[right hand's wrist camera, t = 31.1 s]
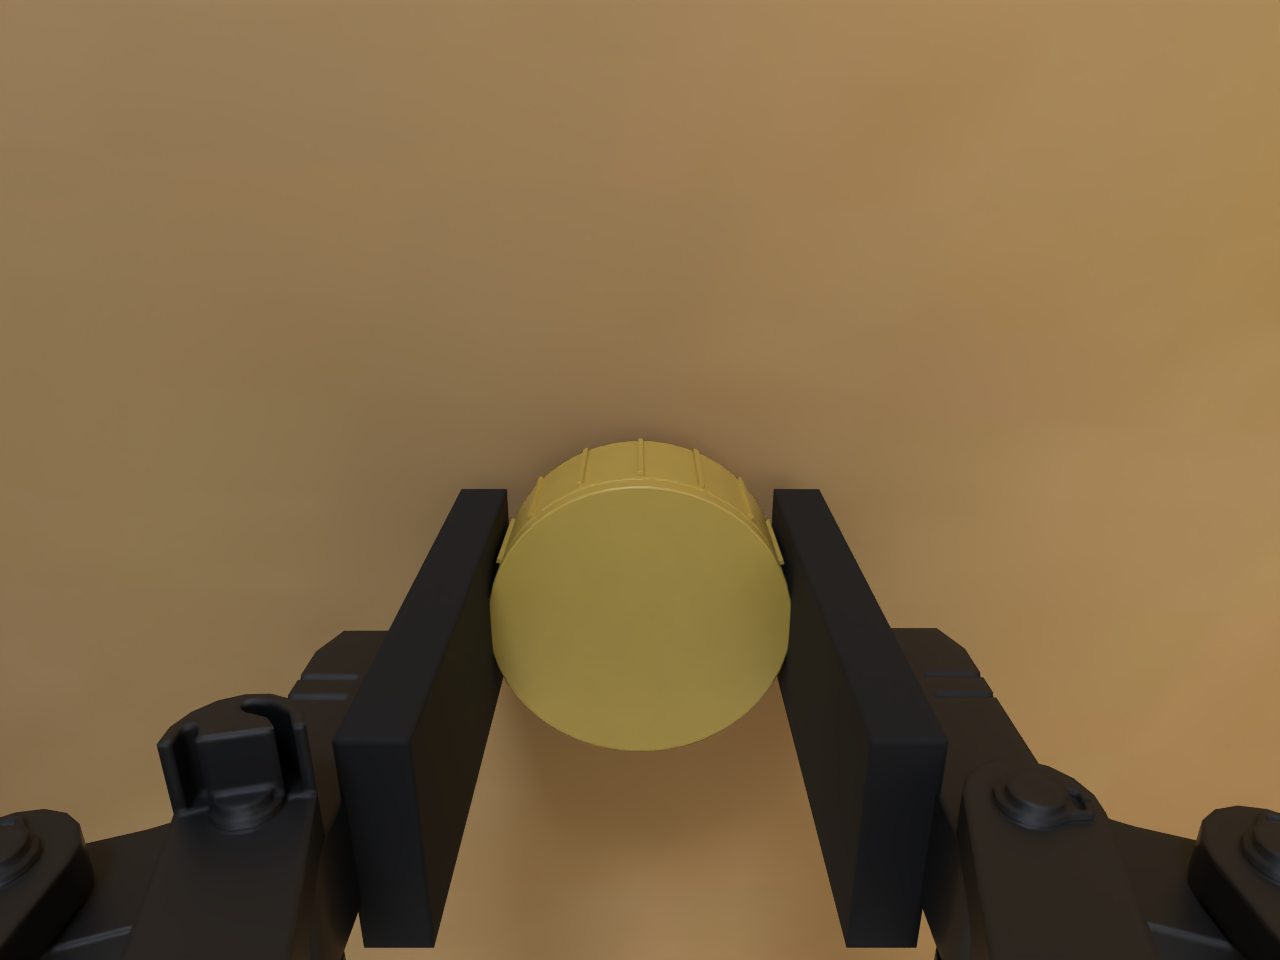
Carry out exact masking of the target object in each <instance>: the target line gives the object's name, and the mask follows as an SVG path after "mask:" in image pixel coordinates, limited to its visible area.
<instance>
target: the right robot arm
mask: <svg viewBox="0 0 1280 960" xmlns="http://www.w3.org/2000/svg"><path fill="white" fill-rule="evenodd" d="M508 526H509V519H508V503H507V489H461V491H460V493H459V495H458V497H457V499H456V501H455V503H454V505H453V507H452V509H451V511H450V513H449V515H448V517H447V519H446V520H445V522H444V524H443V526H442V528H441V530H440V532H439V534H438V536H437V538H436V540H435V542H434V544H433V546H432V548H431V550H430V551H429V553H428V555H427V557H426V559H425V561H424V563H423V565H422V567H421V569H420V571H419V573H418V575H417V577H416V579H415V581H414V582H413V584H412V586H411V588H410V590H409V592H408V594H407V596H406V598H405V600H404V602H403V604H402V606H401V608H400V610H399V612H398V613H397V615H396V617H395V619H394V621H393V623H392V625H391V627H390V629H389V631H343V632H342V633H341V634H339V635H338V636H337V637H335V638H334V639H333V640H331V641H330V642H328V643H327V644H326V645H324V646H323V647H322V648H320V649H319V650H317V651H316V652H315V654H314V656H313V657H312V659H311V660H310V662H309V663H308V665H307V667H306V668H305V670H304V671H303V673H302V674H301V680H298V681H297V682H296V684H295V685H294V687H293V689H292V690H291V692H290V693H289V695H288V698H285V697H281V696H277V695H273V694H245V695H241V696H236V697H232V698H227V699H223V700H218V701H216V702H213V703H211V704H209V705H206V706H204V707H202V708H199V709H197V710H195V711H192V712H191V713H189V714H188V715H186V716H185V717H184V718H182V719H181V720H179V721H178V722H177V723H175V724H174V725H172V726H171V727H170V728H169V729H168V730H167V732H166V733H165V734H164V736H163V737H162V738H161V740H160V741H159V742H158V744H157V748H158V752H159V756H160V760H161V764H162V768H163V772H164V776H165V781H166V785H167V789H168V793H169V797H170V801H171V805H172V809H173V813H174V816H173V818H172V821H171V823H168V824H165V825H161V826H158V827H155V828H151V829H148V830H144V831H140V832H135V833H131V834H126V835H122V836H117V837H113V838H109V839H104V840H100V841H95V842H91V843H86V844H85V841H84V837H83V834H82V831H81V827H80V824H79V823H78V822H77V821H75V820H74V819H73V818H72V817H71V816H70V815H68V814H67V813H64V812H58V811H52V810H47V809H41V810H33V811H24V812H16V813H13V814H9V815H6V816H3V817H0V960H346V958H345V952H344V949H345V947H346V944H347V941H348V938H349V936H350V933H351V930H352V928H353V925H354V922H355V919H356V917H357V914H358V911H359V918H360V924H361V931H362V937H363V943H364V948H434V946H435V942H436V938H437V934H438V930H439V926H440V922H441V918H442V914H443V910H444V907H445V903H446V899H447V895H448V891H449V887H450V883H451V879H452V875H453V871H454V867H455V864H456V860H457V856H458V852H459V848H460V844H461V840H462V836H463V832H464V828H465V825H466V821H467V817H468V813H469V809H470V805H471V801H472V797H473V793H474V789H475V785H476V782H477V778H478V774H479V770H480V766H481V762H482V758H483V754H484V750H485V746H486V743H487V739H488V735H489V731H490V727H491V723H492V719H493V715H494V711H495V707H496V703H497V700H498V696H499V692H500V688H501V684H502V680H503V674H502V673H501V671H500V669H499V667H498V664H497V662H496V659H495V656H494V654H493V645H492V632H491V618H490V594H491V590H492V586H493V582H494V579H495V576H496V573H497V570H498V567H499V563H496V561H497V558H498V555H499V552H500V549H501V546H502V543H503V540H504V538H505V535H506V532H507V529H508ZM772 528H773V531H774V534H775V537H776V540H777V543H778V546H779V549H780V552H781V554H782V557H783V560H784V563H785V564H783V565H781V567H782V570H783V573H784V576H785V579H786V582H787V585H788V590H789V594H790V599H791V612H790V627H789V640H788V650H787V654H786V657H785V659H784V662H783V664H782V667H781V669H780V671H779V673H778V675H777V678H778V682H779V686H780V690H781V693H782V697H783V701H784V705H785V709H786V713H787V717H788V721H789V725H790V729H791V733H792V736H793V740H794V744H795V748H796V752H797V756H798V760H799V764H800V768H801V772H802V775H803V779H804V783H805V787H806V791H807V795H808V799H809V803H810V807H811V811H812V815H813V818H814V822H815V826H816V830H817V834H818V838H819V842H820V846H821V850H822V854H823V857H824V861H825V865H826V869H827V873H828V877H829V881H830V885H831V889H832V893H833V897H834V900H835V904H836V908H837V912H838V916H839V920H840V924H841V928H842V932H843V936H844V940H845V943H846V947H847V948H916V947H917V940H918V934H919V928H920V921H921V915H922V909H923V911H924V914H925V916H926V919H927V922H928V924H929V927H930V930H931V933H932V935H933V938H934V941H935V943H936V952H935V958H934V960H1280V813H1277V812H1274V811H1271V810H1268V809H1262V808H1253V807H1245V806H1233V807H1227V808H1221V809H1215V810H1214V811H1213V812H1212V813H1210V814H1209V815H1208V816H1207V817H1206V818H1205V819H1203V820H1202V823H1201V826H1200V830H1199V833H1198V836H1197V840H1192V839H1188V838H1183V837H1179V836H1174V835H1170V834H1165V833H1161V832H1157V831H1152V830H1148V829H1143V828H1139V827H1135V826H1131V825H1128V824H1124V823H1121V822H1118V821H1114V820H1111V819H1109V818H1108V817H1107V814H1106V812H1105V811H1104V809H1103V808H1102V806H1101V805H1100V803H1099V802H1098V800H1097V799H1096V797H1095V796H1094V795H1093V794H1092V793H1091V792H1090V791H1089V790H1087V789H1086V788H1085V787H1084V786H1082V785H1081V784H1080V783H1079V782H1077V781H1076V780H1075V779H1074V778H1072V777H1070V776H1068V775H1065V774H1063V773H1061V772H1059V771H1057V770H1055V769H1053V768H1051V767H1049V766H1046V765H1042V764H1039V763H1038V762H1037V760H1036V759H1035V757H1034V756H1033V754H1032V753H1031V751H1030V749H1029V748H1028V746H1027V745H1026V743H1025V742H1024V740H1023V739H1022V737H1021V735H1020V734H1019V732H1018V731H1017V729H1016V728H1015V726H1014V724H1013V723H1012V721H1011V720H1010V718H1009V717H1008V715H1007V714H1006V712H1005V710H1004V709H1003V707H1002V706H1001V704H1000V703H999V701H998V700H997V698H993V692H992V690H991V689H990V687H989V686H988V684H987V682H986V681H985V679H984V678H983V677H980V672H979V670H978V668H977V667H976V665H975V664H974V662H973V661H972V659H971V658H970V656H969V654H968V653H967V651H966V650H965V649H964V648H963V647H962V646H960V645H959V644H958V643H956V642H955V641H953V640H952V639H951V638H949V637H948V636H947V635H945V634H944V633H942V632H941V631H940V630H938V629H937V628H890V626H889V624H888V622H887V620H886V618H885V616H884V614H883V612H882V610H881V608H880V606H879V605H878V603H877V601H876V599H875V597H874V595H873V593H872V591H871V589H870V587H869V585H868V583H867V581H866V579H865V577H864V575H863V574H862V572H861V570H860V568H859V566H858V564H857V562H856V560H855V558H854V556H853V554H852V552H851V550H850V548H849V546H848V544H847V543H846V541H845V539H844V537H843V535H842V533H841V531H840V529H839V527H838V525H837V523H836V521H835V519H834V517H833V515H832V513H831V512H830V510H829V508H828V506H827V504H826V502H825V500H824V498H823V496H822V494H821V492H820V490H819V489H774V496H773V512H772Z"/></svg>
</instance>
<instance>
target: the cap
mask: <svg viewBox="0 0 1280 960" xmlns="http://www.w3.org/2000/svg"><path fill="white" fill-rule="evenodd" d="M496 563H499V567H498V570H497V573H496V576H495V579H494V582H493V586H492V590H491V594H490V618H491V632H492V645H493V654H494V656H495V659H496V662H497V664H498V667H499V669H500V671H501V673H502V674H503V676H504V678H505V680H506V682H507V684H508V685H509V686H510V688H511V689H512V690H513V692H514V693H515V694H516V696H517V697H518V698H519V699H520V700H521V701H522V702H523V703H524V704H525V705H526V707H527V708H528V709H529V710H530V711H532V712H533V713H534V714H535V715H537V716H538V717H539V718H540V719H542V720H543V721H544V722H546V723H547V724H549V725H550V726H552V727H554V728H555V729H557V730H558V731H560V732H562V733H564V734H566V735H569V736H571V737H573V738H575V739H577V740H580V741H583V742H586V743H589V744H592V745H596V746H600V747H605V748H609V749H616V750H625V751H655V750H665V749H671V748H676V747H680V746H685V745H688V744H691V743H694V742H697V741H700V740H703V739H705V738H707V737H710V736H712V735H714V734H716V733H718V732H720V731H722V730H723V729H725V728H727V727H728V726H730V725H732V724H733V723H735V722H736V721H737V720H739V719H740V718H741V717H742V716H744V715H745V714H746V713H747V712H749V711H750V710H751V709H752V708H753V707H754V706H755V705H756V704H757V703H758V702H759V701H760V700H761V698H762V697H763V696H764V695H765V693H766V692H767V691H768V689H769V688H770V687H771V685H772V684H773V682H774V680H775V678H776V677H777V675H778V673H779V671H780V669H781V667H782V664H783V662H784V659H785V657H786V654H787V650H788V640H789V627H790V612H791V599H790V594H789V590H788V585H787V582H786V579H785V576H784V573H783V570H782V567H781V565H783V564H785V563H784V560H783V557H782V554H781V552H780V549H779V546H778V543H777V540H776V537H775V534H774V531H773V528H772V525H771V522H770V520H769V519H768V520H765V518H764V515H763V513H762V511H761V509H760V508H759V506H758V504H757V502H756V501H755V499H754V498H753V496H752V495H751V494H750V492H749V491H748V490H747V489H746V487H745V484H744V481H743V479H742V478H741V477H740V478H738V479H737V478H736V477H735V476H734V475H733V474H732V473H730V472H729V471H728V470H726V469H725V468H724V467H722V466H721V465H720V464H718V463H716V462H715V461H713V460H711V459H709V458H707V457H706V456H704V455H702V454H699V450H697V449H695V448H694V449H693V451H692V450H689V449H687V448H683V447H679V446H676V445H672V444H667V443H660V442H652V441H643V438H638V441H629V442H620V443H613V444H609V445H605V446H600V447H597V448H594V449H591V450H588V448H586V449H583V453H581V454H578V455H577V456H575V457H573V458H571V459H569V460H567V461H566V462H564V463H562V464H561V465H559V466H558V467H557V468H555V469H554V470H553V471H551V472H550V473H549V474H548V475H546V476H545V477H544V478H543V477H542V476H541V477H540V478H539V479H538V481H537V484H536V486H535V488H534V489H533V490H532V491H531V493H530V494H529V495H528V497H527V498H526V499H525V501H524V503H523V505H522V506H521V508H520V510H519V511H518V513H517V516H516V518H515V519H513V518H511V520H510V523H509V526H508V529H507V532H506V535H505V538H504V540H503V543H502V546H501V549H500V552H499V555H498V558H497V561H496Z"/></svg>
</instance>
